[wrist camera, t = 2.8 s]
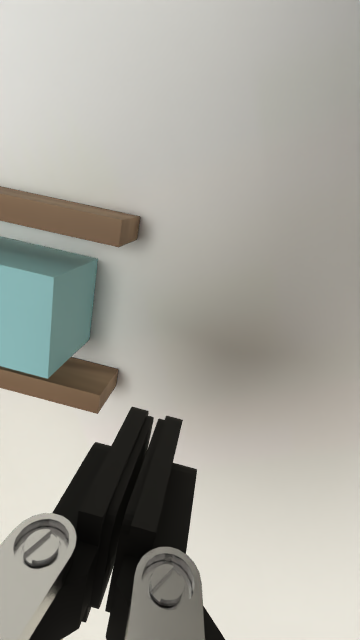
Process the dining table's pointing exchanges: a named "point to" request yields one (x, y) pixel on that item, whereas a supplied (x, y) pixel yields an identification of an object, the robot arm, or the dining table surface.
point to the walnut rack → (85, 223)
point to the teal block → (43, 306)
